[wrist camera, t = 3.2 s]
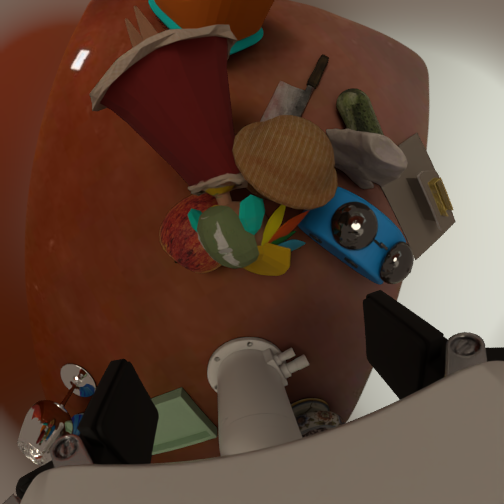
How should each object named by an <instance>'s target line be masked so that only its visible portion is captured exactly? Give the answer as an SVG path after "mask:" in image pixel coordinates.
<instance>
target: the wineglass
mask: <svg viewBox="0 0 504 504" xmlns="http://www.w3.org/2000/svg"><path fill="white" fill-rule="evenodd" d="M61 378H62V381H63V382H64V384H65V385H66V387H67V388H68V389H69V392H68V393H67V395H66V396H65V398H64V399H63V401H62V402H61V403H60V404H59V403H57V402H54V401H50V400H43V401H38V402H37V403H35V404H34V405H33V406H32V407H31V408H30V410H29V411H28V413H27V415H26V418H25V420H24V423H23V426H22V429H21V432H20V435H19V439H18V442H17V444H18V447H19V448H20V450H21V451H22V452H23V454H24V455H25V456H26V457H28V458H29V459H30V460H31V461H33V462H34V463H36V464H38V465H40V466H42V465H44V464H46V463H48V462H49V461H51V460H52V458H51V455H50V449H51V446H52V445H53V443H54V442H55V441H56V440H57V439H58V438H60V437H61V436H64V435H66V434H74V425H73V421H72V418H71V416H70V415H69V413H68V412H67V410H66V409H65V408H64V407H65V405H66V403H67V401H68V399H69V398H70V396H71V394H72V393H75V394H76V395H79V396H82V397H90V396H92V395H93V394H94V392H95V390H96V385H95V382H94V380H93V378H92V376H91V375H90V374H89V373H88V372H87V371H86V370H85V369H83V368H82V367H80V366H78V365H75V364H66V365H64V366H63V367H62V369H61Z"/></svg>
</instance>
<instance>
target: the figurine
mask: <svg viewBox="0 0 504 504" xmlns="http://www.w3.org/2000/svg"><path fill="white" fill-rule="evenodd" d="M232 152H233V156H234V160H235V164H236V166H237V167H238V169H239V171H240V172H241V174H242V175H243V177H244V178H245V180H246V181H248V185H247V187H246V188H247V189H248V190H249V191H250V192H251V193H252V194H254V195H256V196H259V197H261V198H263V199H268V200H272V201H274V202H276V203H279V204H282V205H285V206H288V207H291V208H294V209H305V210H312V209H315V208H319V207H322V206H324V205H326V204H327V203H328V202H329V201H330V200H331V199H332V198H333V197H334V196H335V193H336V190H337V187H338V182H337V173H336V170H335V168H334V165H335V161H334V151H333V147H332V144H331V142H330V140H329V138H328V136H327V135H326V134H325V133H324V132H323V131H322V130H321V129H320V128H319V127H318V126H317V125H315V124H314V123H312V122H311V121H309V120H306V119H304V118H301V117H297V116H293V115H279V116H277V117H274V118H272V119H269V120H266V121H263V122H254V123H252V124H249V125H247V126H245V127H243V128H242V129H241V130H240V131H239V132H238V134H237V135H236V136H235V139H234V144H233V149H232Z"/></svg>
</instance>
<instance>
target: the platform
mask: <svg viewBox="0 0 504 504" xmlns="http://www.w3.org/2000/svg"><path fill="white" fill-rule="evenodd" d="M398 147H399V148H400V149H401V150H402V151H403V153H404V154H405V156H406V159H407V162H408V164H407V168H406V170H404V172H403V173H401V176H400V178H398V179H396V180H395V181H392V182H390V183H388V184H386V185H385V186H381V185H380V186H381V188H382V189H383V191H384V193H385V195H386V197H387V199H388V201H389V203H390V205H391V207H392V209H393V211H394V213H395V215H396V217H397V219H398V221H399V224H400V226H401V228H402V230H403V232H404V234H405V237H406V239H407V241H408V243H409V246H410V247H411V249H412V251H413V255H414V258H415V260H416V259H417V258H419V257H420V256H421V255H422V254H423V253H424V252H425V251H426V250H427V249H428V248H429V247H430V246H431V245H432V244H433V243H434V242H436V241H437V240H438V239H439V238H440V237H441V236H442V235H443V234H444V233H445V232H446V231H447V230H448V229H449V228H450V227H451V225H453V224H454V223H455V219H454V216H453V213H452V210H453V207H452V205H451V202H450V200H449V197H448V194H447V192H446V189H445V187H444V184H443V182H441V181H442V180H441V178H439V175H438V173H437V172H436V171H435V169H434V166H433V164H432V162H431V160H430V158H429V156H428V154H427V151H426V149H425V147H424V145H423V143H422V141H421V139H420V138H419V136H418V134H417V133H416V134H414V135H413V136H411V137H410V138H409V139H407V140H406V141H404V142H403V143H402V144H400V145H399V146H398ZM446 194H447V195H446Z"/></svg>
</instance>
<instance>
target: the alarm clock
mask: <svg viewBox="0 0 504 504" xmlns="http://www.w3.org/2000/svg"><path fill="white" fill-rule="evenodd" d="M306 211H309V210H305V209H304V211H303V212H306ZM303 212H302V213H303ZM297 226H298V227H299V228H300V229H301V230H302V231H303V232H304V233H306V234H307V235H308V236H309V237H311V238H312V239H313V240H314V241H316V242H317V243H318V244H319V245H321V246H322V247H323V248H325V249H326V250H327V251H329V252H330V253H331V254H333V255H334V256H336V257H337V258H338V259H340V260H341V261H342V262H344V263H345V264H347V265H348V266H349V267H351V268H352V269H354V270H355V271H357V272H358V273H360V274H361V275H363V276H364V277H366V278H367V279H369V280H371V281H372V282H374V283H376V284H382V283H383V282H385V283H388V284H396V283H399V282H401V281H402V280H404V279H405V278H406V277H407V276H408V274H409V273H410V272H411V269H412V266H413V261H414V256H413V251H412V249H411V247H410V246H409V245H408V244H407V243H406V240H405V238H404V236H403V234H402V233H401V231H400V230H399V229H398V227H397V226H396V225H395V224H394V223H393V222H392V221H391V220H390V219H389V218H388V217H387V216H386V215H384V214H383V213H382V212H381V211H380V210H378V209H377V208H376V207H374V206H373V205H371V204H370V203H369V202H367V201H366V200H364V199H362V198H361V197H359V196H357V195H356V194H354V193H352V192H350V191H348V190H346V189H343V188H341V187H337V190H336V193H335V196H334V197H333V198H332V199H331V200H330V201H329V202H328V203H327V204H326V205H324V206H322V207H319V208H315V209H312V210H310V211H309V212H308V213H307V214H306V216H305V217H304V218H303V219H302V221H301V222H300V223H299V224H298V225H297Z"/></svg>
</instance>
